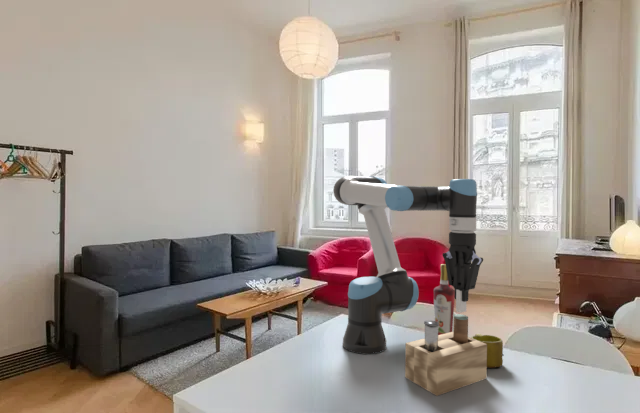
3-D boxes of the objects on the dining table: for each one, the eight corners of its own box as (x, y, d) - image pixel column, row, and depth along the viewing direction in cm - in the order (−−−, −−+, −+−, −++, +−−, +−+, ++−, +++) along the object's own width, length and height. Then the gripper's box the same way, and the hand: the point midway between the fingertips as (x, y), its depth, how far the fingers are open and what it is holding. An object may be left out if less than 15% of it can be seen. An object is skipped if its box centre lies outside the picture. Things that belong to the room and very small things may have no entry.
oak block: (405, 377, 112) (405, 343, 112) (453, 362, 122) (453, 331, 122) (436, 395, 101) (437, 358, 101) (486, 378, 111) (487, 344, 111)
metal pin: (420, 353, 109) (421, 321, 109) (430, 350, 111) (431, 319, 111) (431, 358, 106) (431, 325, 106) (441, 355, 108) (442, 323, 108)
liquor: (429, 342, 139) (431, 265, 138) (436, 337, 145) (437, 262, 144) (450, 347, 134) (451, 267, 134) (456, 341, 140) (457, 264, 140)
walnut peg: (450, 345, 115) (450, 315, 115) (459, 343, 117) (460, 313, 117) (461, 350, 112) (461, 319, 112) (470, 347, 114) (471, 317, 114)
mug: (513, 367, 115) (501, 333, 117) (478, 374, 117) (467, 340, 119) (505, 359, 126) (494, 328, 129) (473, 365, 128) (463, 335, 131)
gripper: (436, 230, 117) (435, 307, 118) (472, 234, 106) (471, 319, 107) (453, 229, 121) (452, 304, 122) (490, 232, 110) (488, 315, 110)
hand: (461, 311), depth 114 cm, fingers closed
